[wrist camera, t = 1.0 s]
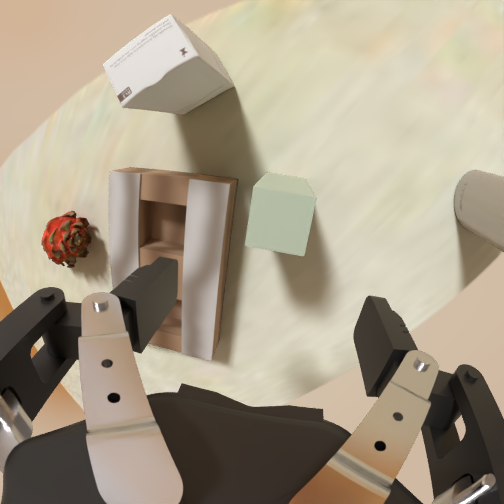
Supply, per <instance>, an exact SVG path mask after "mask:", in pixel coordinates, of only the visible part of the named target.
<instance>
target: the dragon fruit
mask: <svg viewBox="0 0 504 504" xmlns="http://www.w3.org/2000/svg"><path fill="white" fill-rule="evenodd" d="M88 225H89V223H88V220H87V219H86V218H81V217H80V218H77V219H76V213H75V211H71V212H68V213H66V214H64V215H63V216H60V217H56V218H54V219H51V220H50V221H49V222H48V224H47V226H46V228H47V229H46V230H45V231H44V234H43V237H42V243H41V244H42V245H43V249H44V251H46V253H47V255H48V258H49V259H52V261H53V262H55V263H56V264H62V265H63V266H65V265H64V263H62V262H66V263H67V264H68V265H69V266H67V267H68V268H72V267H75V266H74V264H75V263H76V256H77V257H83V258H85V257H86V256H87V255H88V253H89V252H88V251H87V248H86V246H88V245H89V244H90V243H91V240H92V237H91V236H90V234H89V232H88V231H87V229H86V228H87V226H88Z"/></svg>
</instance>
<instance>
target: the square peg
mask: <svg viewBox="0 0 504 504" xmlns="http://www.w3.org/2000/svg"><path fill="white" fill-rule="evenodd" d="M315 203H316V196H315V194H314V192H313V191H312V189H311V187H310V185H309V183H308V182H307V180H306V179H304V178H298V177H293V176H287V175H282V174H276V173H270V172H266V174H265V175H264V176H263V177H262V178H261V179H260V180H259V181H258V182H257V183H256V184H255V185H254V186H253V192H252V199H251V206H250V213H249V220H248V227H247V233H246V240H245V246H248V247H254V248H260V249H265V250H271V251H276V252H282V253H287V254H293V255H298V256H304V255H305V250H306V246H307V241H308V237H309V232H310V227H311V222H312V218H313V213H314V208H315Z"/></svg>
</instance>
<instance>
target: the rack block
mask: <svg viewBox="0 0 504 504" xmlns="http://www.w3.org/2000/svg"><path fill="white" fill-rule="evenodd" d="M237 184H238V179H233V178H225V177H218V176H210V175H203V174H194V173H186V172H176V171H167V170H156V169H145V168H132V167H129V168H124V169H119V170H114V171H110V172H109V242H110V260H111V274H112V284H113V289H114V288H116V287H117V286H118V285H119V284H120V283H121V282H122V281H123V280H125V279H126V278H127V277H128V276H129V275H131V273H133V272H134V271H135V270H136V269H137V268H140V267H142V266H145V265H151V264H152V263H153V262H154V261H155V260H156V259H157V258H158V257H160V256H162V257H167V258H171V259H176V260H177V261H178V293H177V299H176V303H175V305H174V307H173V308H172V310H171V311H170V312H169V314H168V315H167V317H166V318H165V320H164V321H163V323H162V324H161V325H160V327H159V328H158V330H157V331H156V333H155V334H154V336H153V337H152V338H151V340H150V341H149V343H150V344H153V345H157V346H160V347H164V348H167V349H171V350H175V351H178V352H182V354H184V355H188V356H192V357H196V358H200V359H204V360H209V361H212V358H213V356H214V353H215V350H216V347H217V345H218V342H219V336H220V326H221V317H222V307H223V298H224V289H225V280H226V272H227V263H228V255H229V246H230V238H231V230H232V222H233V214H234V206H235V199H236V191H237Z"/></svg>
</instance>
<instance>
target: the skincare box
mask: <svg viewBox="0 0 504 504" xmlns="http://www.w3.org/2000/svg"><path fill="white" fill-rule="evenodd" d="M103 67H104V69H105V71H106V74H107V76H108V78H109V80H110V82H111V84H112V86H113V88H114V90H115V93H116V95H117V97H118V99H119V101H120V103H121V105H122V107H123V108H131V109H142V110H151V111H159V112H167V113H174V114H180V115H184V114H186V113H188V112H189V111H191V110H193V109H194V108H196V107H198V106H200V105H201V104H203V103H205V102H207V101H208V100H210V99H212V98H214V97H215V96H217V95H219V94H221V93H222V92H224V91H226V90H228V89H230V88H232V87H234V84H233V82H232V80H231V78H230V76H229V75H228V73H227V71H226V69H225V68H224V66H223V64H222V62H221V61H220V59H219V57H218V56H217V54H216V53H215V52H214V51H213V50H212V49H211V48H210V47H209V46H208V45H207V44H206V43H205V42H203V41H202V40H201V39H200V38H199V37H198V36H197V35H196V34H195V33H193V32H192V31H191V30H190V29H189V28H188V27H187V26H185V25H184V24H183V23H182V22H181V21H179V20H178V19H177V18H176V17H174V16H173V15H172V14H170V15H168V16H166V17H165V18H163V19H162V20H160V21H159V22H157V23H156V24H154V25H153V26H151V27H150V28H148V29H147V30H146V31H144V32H143V33H141V34H140V35H139V36H137V37H136V38H135V39H133V40H132V41H131V42H130V43H128V44H127V45H126V46H124V47H123V48H122V49H120V50H119V51H118V52H117V53H116V54H114V55H113V56H112V57H111V58H110V59H108V60H107V61H106V62H105V63H104V64H103Z"/></svg>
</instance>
